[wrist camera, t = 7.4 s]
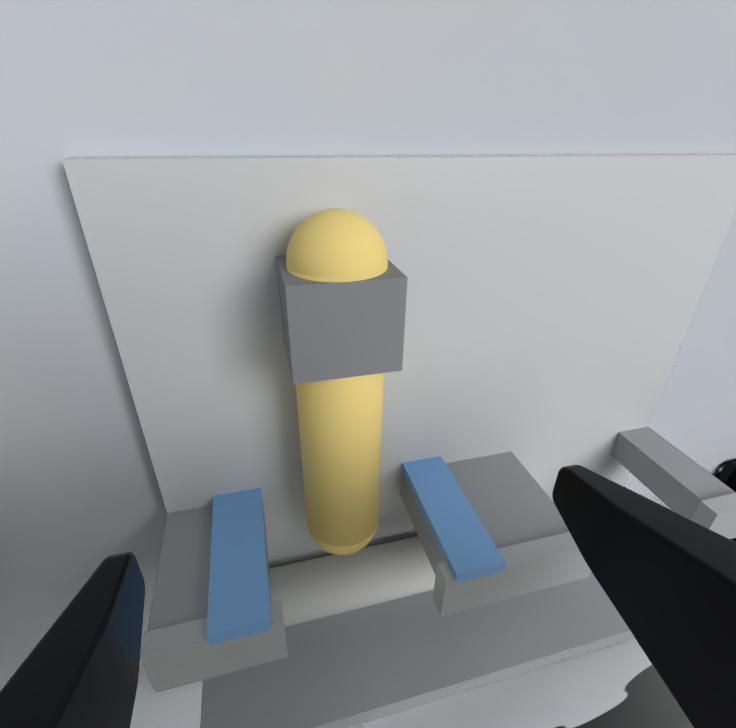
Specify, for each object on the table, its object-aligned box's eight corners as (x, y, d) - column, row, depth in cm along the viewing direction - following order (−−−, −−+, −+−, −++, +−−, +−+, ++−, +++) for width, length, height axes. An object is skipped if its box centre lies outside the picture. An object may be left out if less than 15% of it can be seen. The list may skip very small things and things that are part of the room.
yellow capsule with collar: (271, 202, 11) (279, 221, 9) (379, 198, 11) (411, 217, 9) (299, 521, 16) (309, 579, 14) (371, 506, 17) (390, 561, 15)
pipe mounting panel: (739, 154, 14) (969, 171, 10) (588, 543, 23) (672, 643, 19) (70, 157, 10) (-66, 191, 5) (208, 637, 19) (201, 796, 14)
